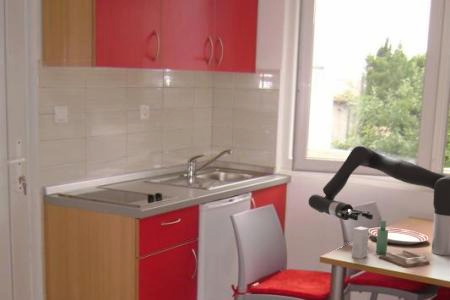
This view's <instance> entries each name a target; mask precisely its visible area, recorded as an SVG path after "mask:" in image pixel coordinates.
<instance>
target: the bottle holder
mask: <svg viewBox="0 0 450 300" xmlns="http://www.w3.org/2000/svg"><path fill="white" fill-rule="evenodd" d="M378 259H380V260H383V261H386V262H388V263H391V264H392V265H397V266H399V267H402V268H410V267H419V266H424V265H425V266H426V265H430V263H431V261H429V260H427V256H424V255H421V254H418V253H416V252H415V253H414V252H412V251H409V250H406V249H403V250H402V252H400V253H392V252H390V251H387V252H386V255H378Z"/></svg>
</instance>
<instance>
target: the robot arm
mask: <svg viewBox="0 0 450 300" xmlns="http://www.w3.org/2000/svg"><path fill="white" fill-rule="evenodd" d="M359 167H363V168H364V167H366V168H368V169H369V168H370V169H374V170H376V171H380V172H382V173H383V174H386V175H387V176H388V177H391V178H393V179H395V180H398V181H400V182H403V183H406V184H410V185H414V186H420V187H427V188H430V189H432V190H433V203H432V204H433V208H434V213H433V224H432V225H433V228H432V239H431V240H432V241H431V253H433V254H436V255H439V256H440V255H441V256H450V175H447V174H443V173H438V172H435V171H432V170H430V169H428V168H424V167H422V166H420V165H418V164H415V163H412V162H410V161H407V160H404V159H401V158H396V157H391V156H386V155H384V154H381V153H379V152H377V151H376V150H373V149H372V148H370V147H367V146H365V145H361V144H360V145H356V146H355V147H354V148H353V149H351V151H350V152H349V154H348V156H347V158H346V159H345V161H344V162H343V163H342V165H341V166H340V168H339V169H338V170H337V172H336V173H335V174H334V175H333V176H332V178H331V179H329V181H328V182H327V183H326V184H325V185H324V187H322V192H323V194H324V195H325V196H323V195H320V194H312V195H311V196H310V197H309V198H308V205H309V207H310V208H311V209H314V210H315V211H317V212H319V213H325V214H328V215H329V216H333V217H334V218H336V219H337V218H338V219H341V220H344V221H348V220H353V221H358V220H359V219H362V218H363V219H368V220H373V217H374V216H373V214H371V213H370V211H367V210H364V209H357V208H353V206H352V204H349V203H346V202H342V201H340V200H339V201H338V200H337V201H336V200H335V198H336V196H337V195H338V194H339V193H340V192H341V191H342V190H343V189H344V187H345V186H346V184H347V182H348V180H349V178H350V176H351V175H352V174H353V173H354V171H355V170H356V169H358V168H359Z"/></svg>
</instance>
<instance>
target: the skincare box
mask: <svg viewBox="0 0 450 300" xmlns="http://www.w3.org/2000/svg"><path fill="white" fill-rule="evenodd" d="M369 229H370V228H369V227H365V226H358V227H354V228H353V229H352V230H353V231H352V233H353V234H352V246H351V247H352V249H351V250H352V251H351V257H352V258H355V259H360V260H361V259H363V258H365V257H368V248H369V247H368V246H369V234H370V233H369Z"/></svg>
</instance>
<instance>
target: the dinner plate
mask: <svg viewBox="0 0 450 300" xmlns="http://www.w3.org/2000/svg"><path fill="white" fill-rule="evenodd" d="M378 229H380V226H379V227H372V228H369V234H370V236H371V237H372V236H373V237H374V238H376V239H377V230H378ZM386 230H388V241H387V243H390V244H395V245H409V246H410V245H415V244H419V243H424V242H427V241H428V240H429V237H428V236H427V235H426V234H423V233H420V232H417V231H414V230H409V229H404V228H403V229H402V228H396V227H386Z"/></svg>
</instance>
